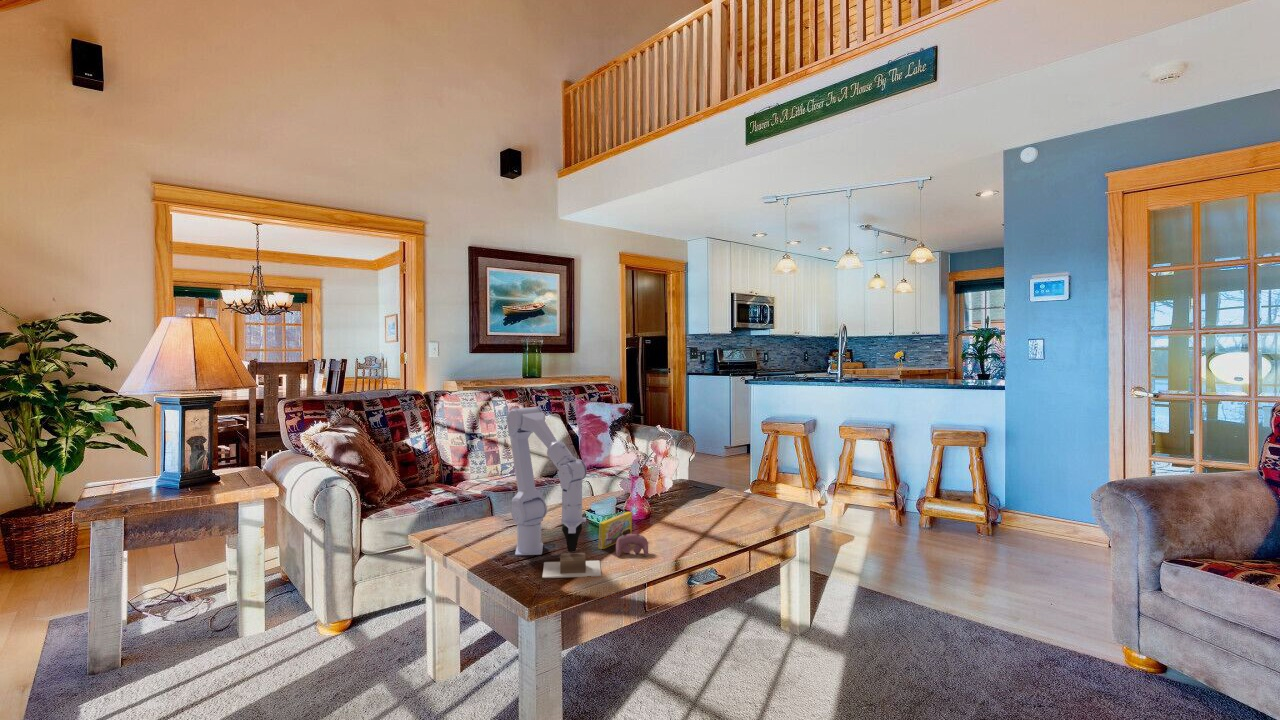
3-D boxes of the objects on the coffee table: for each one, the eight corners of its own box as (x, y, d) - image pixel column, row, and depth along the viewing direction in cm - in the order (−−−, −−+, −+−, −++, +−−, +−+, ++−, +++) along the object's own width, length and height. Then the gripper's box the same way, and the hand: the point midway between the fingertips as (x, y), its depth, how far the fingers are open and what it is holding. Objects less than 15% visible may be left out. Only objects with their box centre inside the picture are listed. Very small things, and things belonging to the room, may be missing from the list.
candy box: (603, 550, 189) (603, 523, 189) (597, 549, 191) (597, 522, 190) (632, 536, 203) (632, 511, 203) (627, 535, 204) (627, 510, 204)
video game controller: (647, 558, 187) (647, 534, 190) (648, 556, 183) (648, 532, 186) (615, 558, 186) (615, 534, 189) (615, 556, 182) (615, 532, 185)
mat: (544, 563, 177) (544, 562, 177) (599, 561, 179) (599, 560, 179) (542, 578, 166) (542, 576, 166) (601, 576, 168) (601, 574, 168)
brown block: (560, 553, 175) (560, 561, 169) (585, 552, 175) (585, 560, 169) (560, 565, 175) (560, 573, 169) (585, 564, 175) (585, 572, 170)
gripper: (586, 510, 167) (586, 559, 168) (585, 496, 182) (585, 542, 182) (560, 510, 167) (560, 560, 167) (561, 497, 181) (561, 542, 182)
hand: (571, 550), depth 175 cm, fingers closed
